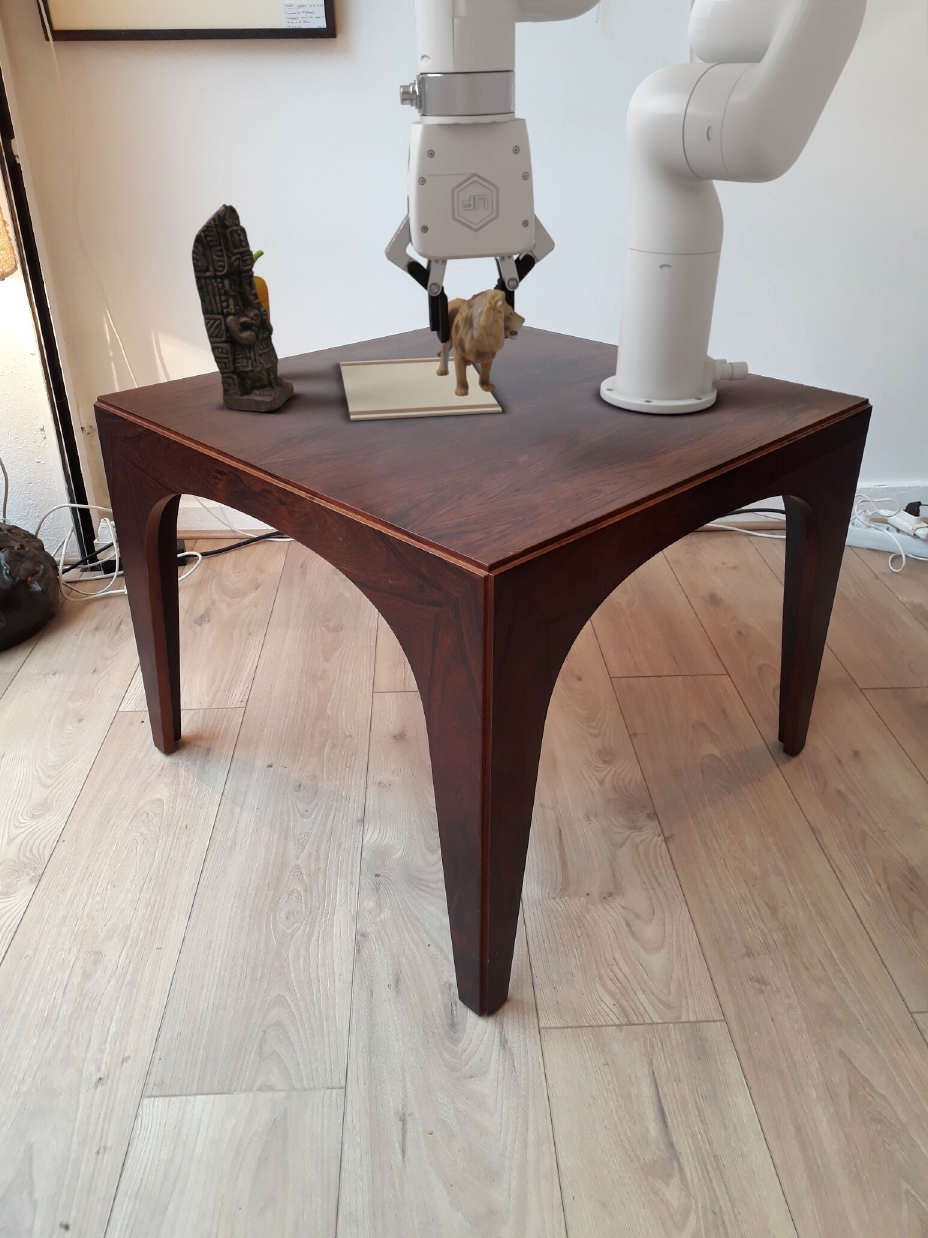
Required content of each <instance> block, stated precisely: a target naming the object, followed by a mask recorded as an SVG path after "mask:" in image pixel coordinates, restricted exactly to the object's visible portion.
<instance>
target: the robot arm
mask: <svg viewBox="0 0 928 1238" xmlns="http://www.w3.org/2000/svg"><path fill="white" fill-rule="evenodd" d="M601 1H602V0H414V1H413V2H414V22H415V40H416V41H415V42H416V63H417V73H418V74H416V76H415V77H416V78H415V79H414V80H413V82H409V83H408V84H402V85H399V100H400V105H401V106H410V107H411V108H413V107H414V109H415V110H417V114H419V120H416V121H412V122H411V127H410V134H409V142H408V143H409V144H408V159H407V181H406V182H407V184H406V185H407V197H406V201H407V203H406V204H407V206H406V207H407V213H406V214H405V216H404V218H403V219H402V220H401V222H400V224H399V226H398V228H397V229H396V230H395V232H394V234H393V236H392V237H391V239H390V241H389V243H388V244H387V246H386V247H385V249H384V256H385V257H386V259H387V260H388V261H389V262H390V263H392V264H393V265H394V266H396V267H397V268H399V269H400V270H402V271H404V272H405V273H406V274H408V275H409V276H410V277H411V278H412V279H413V280H414V281H415V282H417V283H418V285H420V286H421V287H422V288H423V289H424V291H426V292H427V301H428V304H427V305H428V322H429V323H428V325H429V330H430V332H435V333H436V336H437V338H438V340H439V342H440V344H441V343H447V341H449V315H448V302H449V298H448V295H447V294H446V292H445V286H444V285H443V284H444V279H445V274H446V269H447V264H448V261H451V260H465V259H466V260H468V259H483V258H493V259H494V263H495V266H496V271H497V275H498V278H497V280H496V282H497V283H496V284H495V286H493V290H500V291H503V292H504V293H505V301H506V302H507V304H508V305H510V306H511V307H512V309H513V310H514V311H515V310H516V309H515V308H516V307H515V305H516V304H515V303H516V302H515V301H516V299H515V296H516V295H515V294H516V293H515V292H516V290H518V288H519V286H520V283H521V282H522V281H523V280H524V279H525V278H526V277H527V275H528V274H529V273H530V272H531V271H532V270H533V269H534V267H535V266H536V265H537V264H538V263H540V262H541V261H542V260H543V259H544V258H545V257H547V256H548V255H550V253H552V252H553V251H554V249H555V247H556V244H555V240H554V239H553V238H552V236H551V235H550V234H549V232H548V230H547V229H546V228H545V226H544V225H543V223H542V222H541V221H540V219H539V218H538V216H537V214H536V213H535V197H534V179H533V166H532V155H531V154H532V153H531V146H530V145H531V144H530V139H529V131H528V126H527V125H528V124H527V120H526V119H525V118H522V117H516V24H518V23H548V22H560V21H561V22H563V21H567V20H572V19H576V18H578V17H580V16H583V15H585V14H586V13H588V12H590V11H591V10H592V9H593V8H595V7H596V6H597V5H598V4H599V3H600V2H601ZM867 2H868V0H694V2H693V5H692V8H691V11H690V15H689V17H688V24H687V39H688V44H689V46H690V49H691V51H692V52H693V54H694V56H695V57H697V58H698V59H699V60H700V61H701V62H690V63H687V62H686V63H679V64H673V65H669V66H665V67H663V68H660V69H658V70H656V71H653V73H651V74H650V75H648V76H647V77H645V78H644V80H642V82H641V83H640V84H639V85H638V86H637V87H636V89H635V91H634V93H633V94H632V96H631V99H630V101H629V104H628V108H627V112H626V119H625V143H626V144H625V145H626V155H627V164H628V178H629V204H628V205H629V207H628V208H629V210H628V223H627V237H626V250H625V260H624V261H625V263H624V274H623V285H622V298H621V307H620V308H621V310H620V322H619V333H618V344H617V345H618V347H617V356H616V357H617V358H616V368H615V370H616V371H615V374H614V375H612V376H610V377H607V378H606V379H604V380H602V382H601V384H600V390H599V394H600V397H601V398H602V400H604V401H605V402H607V403H608V404H610V405H612V406H614V407H618V408H621V409H624V410H629V411H633V412H639V413H647V414H659V415H662V414H663V415H670V414H671V415H673V414H674V415H675V414H686V413H693V412H698V411H702V410H704V409H708V408H710V407H711V406H712V405H713V404H715V403H716V400H717V392H718V390H717V388H716V387H715V386H714V385H717V384H719V383H720V382H721V381H725V380H726V381H744V380H747V377H748V375H749V365H748V363H747V362H746V361H732V362H728V361H727V359H726V358H719V359H718V358H717V359H715V358H713V357H711V356H710V355H709V354H708V351H709V342H710V338H711V337H710V336H711V329H712V328H711V327H712V321H713V313H714V307H715V306H714V305H715V299H716V291H717V283H718V276H719V268H720V261H721V253H722V249H723V241H724V240H723V239H724V229H725V228H724V227H725V225H724V223H725V222H724V215H723V208H722V204H721V202H720V198H719V194H718V193H717V189H716V186H715V184H714V181H722V182H732V183H745V184H746V183H747V184H748V183H749V184H763V183H768V182H772V181H774V180H777V179H779V178H781V177H782V176H783V175H784V174H787V172H788V171H789V170H790V169H791V168H792V167H793V166H794V165H795V163H796V162H797V160H798V159H799V157H800V156H801V154H802V153H803V151H804V149H805V147H806V145H807V144H808V142H809V140H810V138H811V136H812V133H814V130H815V128H816V126H817V124H818V122H819V120H820V118H821V116H822V114H823V111H824V109H825V108H826V106H827V103H828V102H829V99H830V98H831V95H832V94H833V91H834V90H835V87H836V85H837V84H838V81H839V79H840V78H841V75H842V73H843V71H844V69H845V68H846V64H847V63H848V60H849V58H850V56H851V54H852V51H853V50H854V47H855V45H856V43H857V40H858V38H859V36H860V32H861V30H862V27H863V23H864V19H865V14H866V10H867V4H868V3H867ZM409 245H411V246H412V247H413V250H414V251H415V253H416V254H417V255H418V256H420V257H422V258H424V259H426V265H425V266H424V265H423V264H422V263H421V262H420V261H418V259H416V258H414V257H412V256H411V255H410V254H408V253H407V248H408V246H409ZM514 256H516V258H514ZM515 312H516V311H515ZM505 339H509V337H505Z"/></svg>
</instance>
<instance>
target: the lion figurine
mask: <svg viewBox="0 0 928 1238" xmlns="http://www.w3.org/2000/svg"><path fill="white" fill-rule="evenodd" d="M448 315H449V341H447V343H441V342H440V345H441V346H440V347H441V350H440V351H438V352H437V353H436V357H439V358H441V359H440V366H439V369H438V370H437V372H436V374H437V375H438V376H447V375H448V374H449V370H448V360H449V357H450V352H451V350H452V349H453V357H454V363H455V373H456V381H457V386H456V390H455V395H457V396H467V395H468V390H469V386H468V382H467V378H466V367H467V366H470V365H471V364H472V365H473V364H480V373H479V386H480V388H481V389H482V390H483V391H485V392H491V393H492V392H493V391H494V390H496V385H495V384H493V383H491V381H490V374H491V370H492V367H493V361H494V360H495V358H496V355H497V353H498V352H499V351H500V350H502V349H503V348H504V345H505V340H506V338H505V337H508V339H510V340H512V341H515V340H517V339H518V334H519V331H520V330H521V329H522V328H523V325H524V323H525V322H526V318H524V316H522V315H521V314H519V313H518V312H516V311H514V310H513V309H512V307H511V306H510V305H508V304H507V302H506V301H505V293H504V292H503V291H500V290H494V289H492V288H488V289H486V290H483V291H481V292H478V293H475V294H473V295H471V297H470V298H468V299H465V298H461V297H456V298H454V299H451V300H448Z"/></svg>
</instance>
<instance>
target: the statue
mask: <svg viewBox="0 0 928 1238" xmlns="http://www.w3.org/2000/svg"><path fill="white" fill-rule="evenodd" d="M253 254H254V252H253V251H252V250H251V246H250V241H249V238H248V233H247V230H246V228H245V227H244V226H243V225H242V224H241V219H240V215H239V213H238V210H237V209H236V208H235V207H234V206H233V205H232V204H229V205H227V204H226V203H223V204H222V205H221V206H219V208H218V209H217V210H216V211H215V212H214V213H213V214H212V215H211V216H210V217H208V219H207V220H206V221H205V223H204V224H203V225H202V226H201V227H200V228H199V230H198V231H197V233H196V234H195V237H194V239H193V243H192V248H191V261H192V269H193V275H194V281H195V286H196V290H197V294H198V297H199V301H200V307H201V313H202V316H203V322H204V323H203V325H204V328H205V331H206V336H207V338H208V342H209V345H210V351H211V354H212V356H213V359H214V362H215V364H216V367H217V369H218V372H219V374H220V377H221V380H220V381H221V386H222V404H223V406H224V407H225V408H228V409H233V410H240V411H253V412H254V411H256V412H269V411H275V410H277V409H280V408H281V407H282V406H284V404H285V403H286V401H288V399H290V398H292V397H293V396H294V394H295V387H294V384H293V383H292V382H288V381H286V380H284V379H283V378H282V377H281V376H279V375H278V370H279V369H278V367H279V366H278V365H279V357H278V354H277V351H276V348H275V345H274V343H273V337H272V335H273V334H274V327H273V324H272V322H271V321H270V322H269V320H268V314H269V311H268V310H267V309H266V307H264V306H262V304H261V302H260V301H259V296H258V293H257V287H256V283H255V279H254V276H255V271H254V267H255V264H254V258H253Z"/></svg>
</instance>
